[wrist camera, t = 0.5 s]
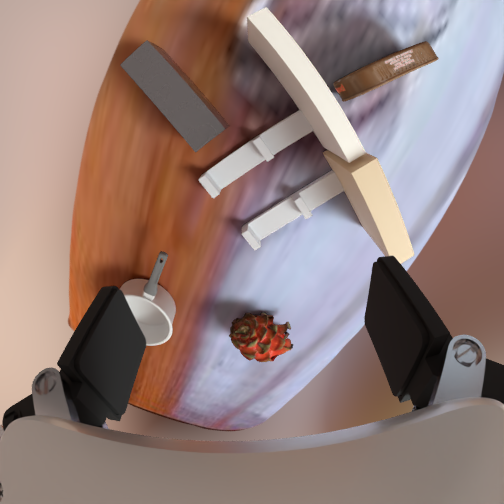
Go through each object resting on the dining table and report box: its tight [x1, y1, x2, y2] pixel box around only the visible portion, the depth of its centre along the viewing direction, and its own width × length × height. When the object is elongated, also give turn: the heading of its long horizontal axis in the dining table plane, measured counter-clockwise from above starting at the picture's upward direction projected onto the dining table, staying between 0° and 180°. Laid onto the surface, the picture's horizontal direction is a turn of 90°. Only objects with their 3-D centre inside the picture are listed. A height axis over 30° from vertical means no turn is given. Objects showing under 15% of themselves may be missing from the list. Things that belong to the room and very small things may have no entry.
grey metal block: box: [121, 40, 229, 152], centre depth 26 cm, size 4×14×6 cm, turn 37°
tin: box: [333, 41, 439, 101], centre depth 23 cm, size 15×3×8 cm, turn 125°
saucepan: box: [120, 251, 176, 346], centre depth 40 cm, size 12×20×6 cm, turn 151°
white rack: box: [199, 8, 414, 264], centre depth 28 cm, size 18×30×11 cm, turn 35°
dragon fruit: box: [229, 312, 294, 362], centre depth 44 cm, size 8×8×12 cm
